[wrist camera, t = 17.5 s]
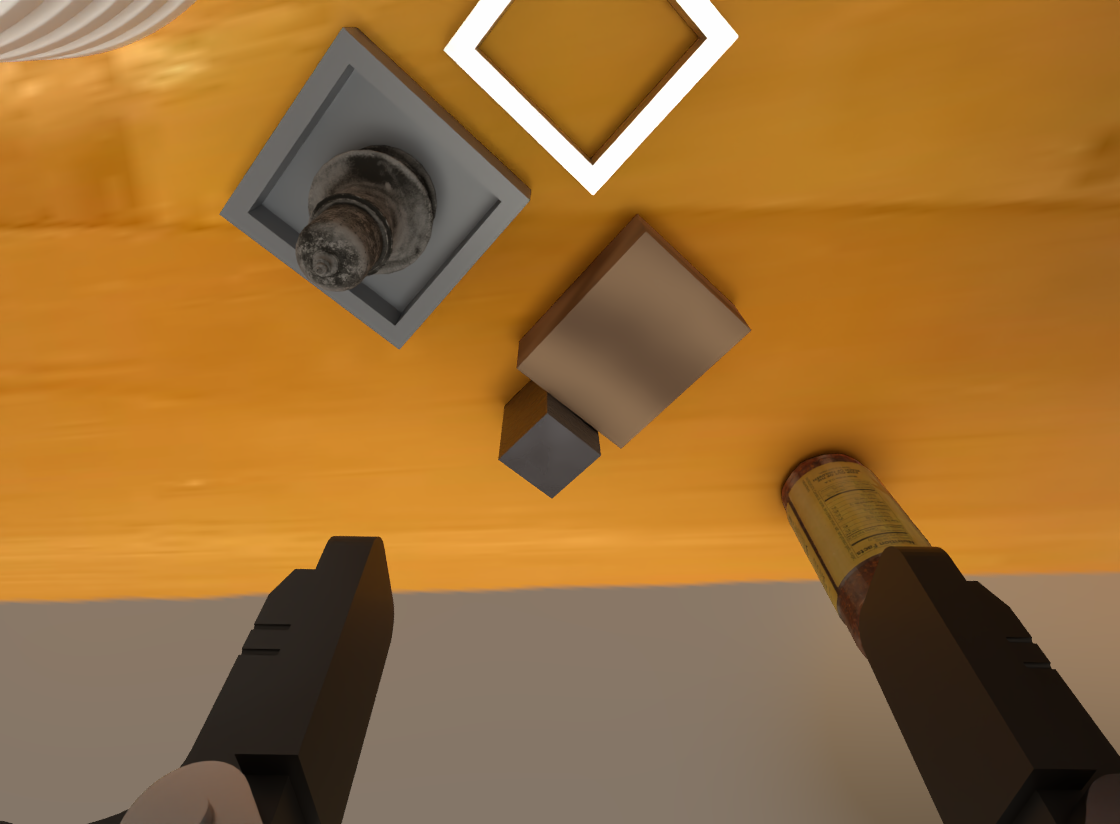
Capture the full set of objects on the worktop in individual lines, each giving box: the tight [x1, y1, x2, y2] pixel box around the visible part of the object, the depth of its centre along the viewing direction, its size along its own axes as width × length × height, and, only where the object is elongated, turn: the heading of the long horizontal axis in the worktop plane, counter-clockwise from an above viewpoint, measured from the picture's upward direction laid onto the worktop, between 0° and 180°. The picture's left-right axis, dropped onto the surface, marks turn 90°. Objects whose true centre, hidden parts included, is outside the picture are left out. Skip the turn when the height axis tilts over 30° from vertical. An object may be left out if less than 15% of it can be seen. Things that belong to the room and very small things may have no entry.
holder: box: [444, 0, 739, 195], centre depth 31 cm, size 10×10×2 cm
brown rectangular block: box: [517, 214, 751, 448], centre depth 38 cm, size 10×8×4 cm
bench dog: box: [498, 380, 601, 498], centre depth 39 cm, size 4×4×6 cm
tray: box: [220, 27, 531, 349], centre depth 34 cm, size 11×11×2 cm
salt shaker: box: [296, 145, 437, 292], centre depth 30 cm, size 6×6×12 cm
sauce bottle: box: [782, 454, 932, 658], centre depth 37 cm, size 6×6×20 cm
